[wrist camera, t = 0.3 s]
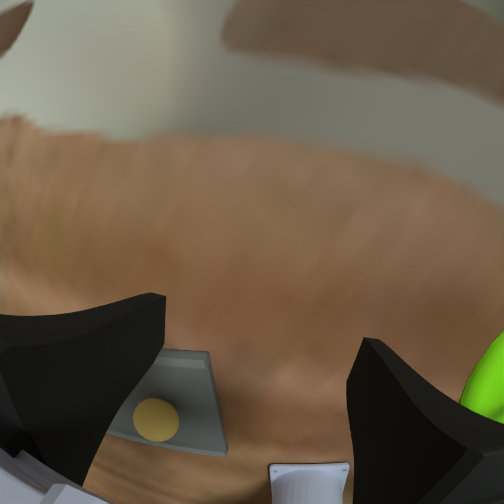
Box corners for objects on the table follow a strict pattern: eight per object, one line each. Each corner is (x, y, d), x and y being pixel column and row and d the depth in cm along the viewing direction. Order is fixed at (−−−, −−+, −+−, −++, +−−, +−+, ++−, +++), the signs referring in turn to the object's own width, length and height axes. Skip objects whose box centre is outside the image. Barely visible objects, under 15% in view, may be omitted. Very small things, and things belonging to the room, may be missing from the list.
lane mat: (228, 448, 26) (221, 470, 23) (33, 400, 30) (21, 411, 27) (208, 351, 23) (196, 374, 20) (-1, 322, 27) (-17, 333, 24)
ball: (189, 423, 25) (175, 454, 21) (150, 417, 25) (134, 445, 21) (179, 391, 24) (162, 423, 20) (139, 386, 24) (118, 414, 20)
